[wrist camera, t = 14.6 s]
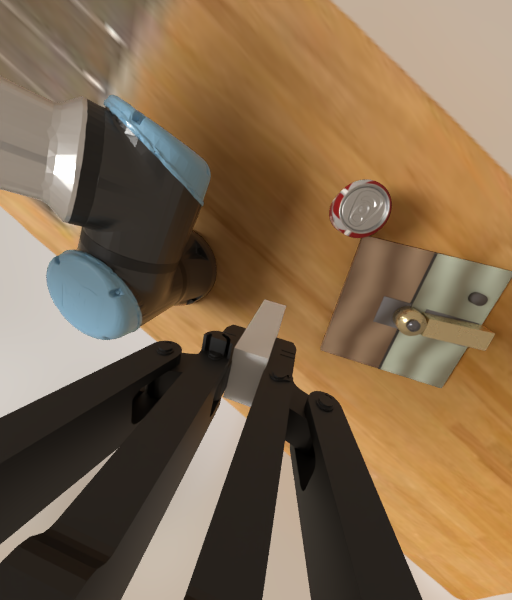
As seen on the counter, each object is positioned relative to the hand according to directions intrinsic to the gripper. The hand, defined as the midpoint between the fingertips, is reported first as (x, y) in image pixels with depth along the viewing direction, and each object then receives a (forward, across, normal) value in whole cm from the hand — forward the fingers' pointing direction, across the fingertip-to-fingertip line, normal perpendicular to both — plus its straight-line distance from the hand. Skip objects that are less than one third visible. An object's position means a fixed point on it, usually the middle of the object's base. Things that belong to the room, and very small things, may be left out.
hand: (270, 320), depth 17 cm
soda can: (+30, +6, +9) cm, 32 cm away
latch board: (+29, +20, -5) cm, 36 cm away
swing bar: (+28, +24, -5) cm, 37 cm away
